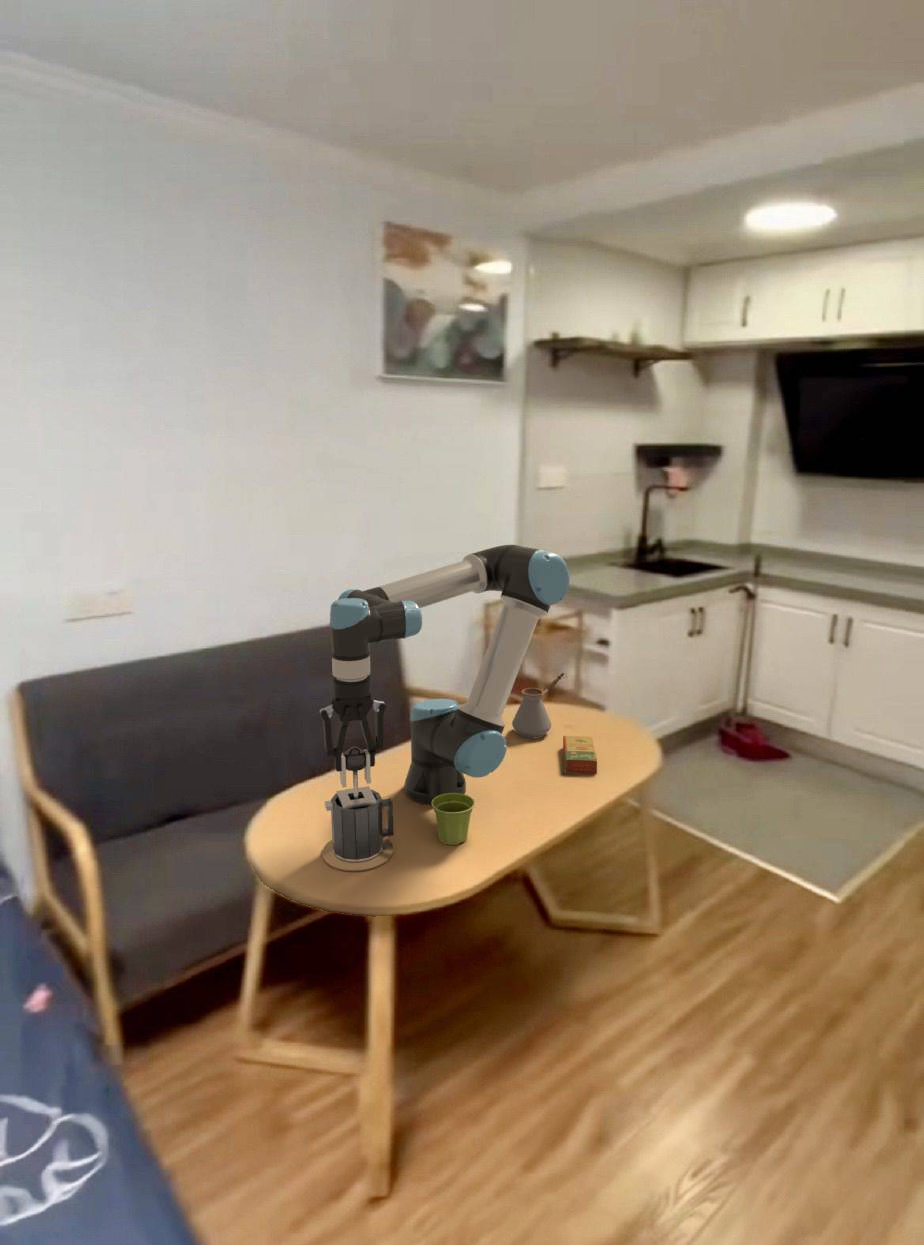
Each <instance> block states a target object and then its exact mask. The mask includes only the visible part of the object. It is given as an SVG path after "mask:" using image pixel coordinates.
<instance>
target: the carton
mask: <svg viewBox="0 0 924 1245" xmlns="http://www.w3.org/2000/svg"><path fill="white" fill-rule="evenodd" d="M562 743H563V744H562V752H563V762H564V764H563V765H564V773H566V774H587V775H589V774H591V775H592V774H594V775H596V774H598V758H597V753H596V750H595V744H594V739H593V737H592V736H585V735H584V736H583V735H563V736H562Z"/></svg>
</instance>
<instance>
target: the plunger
mask: <svg viewBox="0 0 924 1245" xmlns="http://www.w3.org/2000/svg"><path fill="white" fill-rule="evenodd" d="M364 750H365V749H361V748H360V747H357V746H351V747H350V748H349V749H347V750H345V751H344V752H343V754H344V756H345V762H346V771H350V772H352V788H353V791H354V800H355V799H359V795H358V788H359V776H358V772H359V771H362V770H364V768H365V767H366V760H365V751H364ZM354 809H359V807H356V808H354Z"/></svg>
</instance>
